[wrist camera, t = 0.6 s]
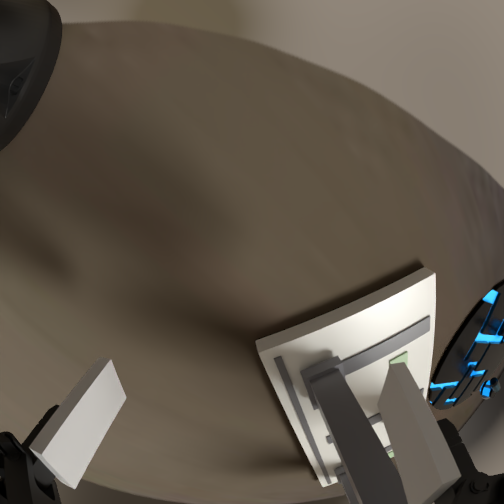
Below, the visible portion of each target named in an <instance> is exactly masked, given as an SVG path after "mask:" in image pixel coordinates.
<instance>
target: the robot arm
mask: <svg viewBox="0 0 504 504" xmlns="http://www.w3.org/2000/svg"><path fill="white" fill-rule="evenodd" d="M61 38H62V22H61V18H60V15H59V13H58V11H57V10H56V8H55V7H54V6H52V5H51V4H50V3H49V2H48V1H47V0H0V151H1V150H2V149H3V148H4V147H5V146H7V145H8V144H9V143H10V141H11V140H12V139H13V138H14V137H15V136H16V135H17V133H18V132H19V131H20V130H21V128H22V127H23V126H24V124H25V123H26V121H27V120H28V118H29V117H30V115H31V114H32V112H33V110H34V109H35V107H36V105H37V103H38V102H39V100H40V98H41V96H42V94H43V92H44V90H45V88H46V86H47V84H48V81H49V79H50V77H51V74H52V72H53V69H54V66H55V63H56V60H57V57H58V53H59V49H60V45H61ZM125 400H126V395H125V393H124V391H123V388H122V386H121V384H120V381H119V379H118V376H117V374H116V371H115V368H114V366H113V363H112V360H111V359H107V358H102V357H99V358H98V359H97V360H96V361H95V363H94V364H93V365H92V366H91V367H90V369H89V370H88V371H87V372H86V374H85V375H84V376H83V377H82V379H81V380H80V381H79V382H78V383H77V385H76V386H75V387H74V388H73V390H72V391H71V392H70V393H69V395H68V396H67V397H66V399H65V400H64V401H63V402H62V404H61V405H60V406H59V405H55V406H54V407H52V408H51V409H49V410H48V411H47V412H46V414H45V415H44V416H43V419H41V420H40V421H39V424H37V425H36V427H35V428H34V429H33V430H32V432H31V433H30V434H29V436H28V437H27V438H26V440H25V441H24V442H23V443H22V445H21V444H20V443H19V442H18V440H17V439H16V438H15V437H14V435H13V434H12V433H10V432H1V433H0V504H61V501H60V497H59V493H58V489H57V485H56V482H55V480H54V478H55V476H56V477H57V478H58V479H59V480H60V481H61V482H62V483H64V484H66V485H67V486H69V487H72V488H73V489H75V488H76V487H77V485H78V483H79V481H80V479H81V477H82V475H83V473H84V472H85V470H86V468H87V466H88V464H89V463H90V461H91V459H92V457H93V455H94V454H95V452H96V450H97V448H98V446H99V445H100V443H101V441H102V439H103V438H104V436H105V434H106V432H107V431H108V429H109V427H110V425H111V424H112V422H113V420H114V418H115V417H116V415H117V413H118V411H119V410H120V408H121V406H122V405H123V403H124V401H125ZM377 406H378V408H379V411H380V414H381V417H382V420H383V423H384V426H385V429H386V432H387V435H388V438H389V441H390V444H391V447H392V450H393V453H394V456H395V460H396V463H397V466H398V470H399V473H400V476H401V480H402V483H403V487H404V491H405V494H406V498H407V502H408V504H432V503H433V502H434V503H435V504H504V473H502V474H498V475H493V476H488V475H487V474H485V473H483V472H478V471H477V469H476V468H475V466H474V464H473V462H472V459H471V457H470V455H469V453H468V451H467V449H466V447H465V445H464V444H463V441H462V439H461V437H460V436H459V433H458V431H457V429H456V428H455V426H454V425H453V424H452V423H451V422H450V421H449V420H448V419H446V418H445V419H442V420H439V421H436V420H435V418H434V416H433V414H432V412H431V410H430V408H429V406H428V404H427V402H426V400H425V398H424V396H423V395H422V393H421V391H420V389H419V387H418V385H417V383H416V382H415V380H414V378H413V376H412V374H411V373H410V371H409V369H408V367H407V366H406V364H405V362H401V363H394V364H390V366H389V369H388V372H387V376H386V379H385V382H384V386H383V389H382V392H381V395H380V398H379V401H378V404H377Z"/></svg>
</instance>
